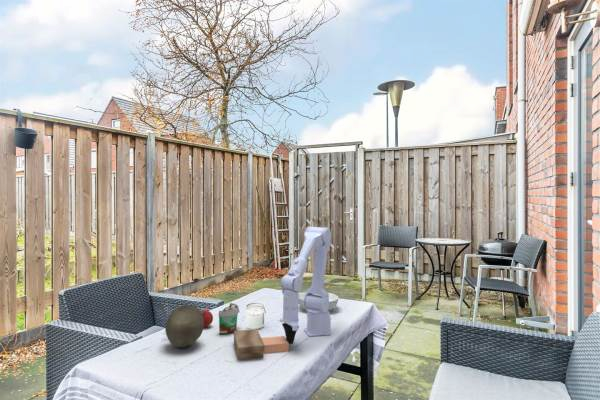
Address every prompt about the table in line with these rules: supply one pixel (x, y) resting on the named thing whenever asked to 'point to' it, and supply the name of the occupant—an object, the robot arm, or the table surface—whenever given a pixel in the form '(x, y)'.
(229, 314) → the food container
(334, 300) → the serving bowl
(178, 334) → the cantaloupe
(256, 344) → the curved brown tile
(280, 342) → the peach block
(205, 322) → the onion
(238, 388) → the table surface
